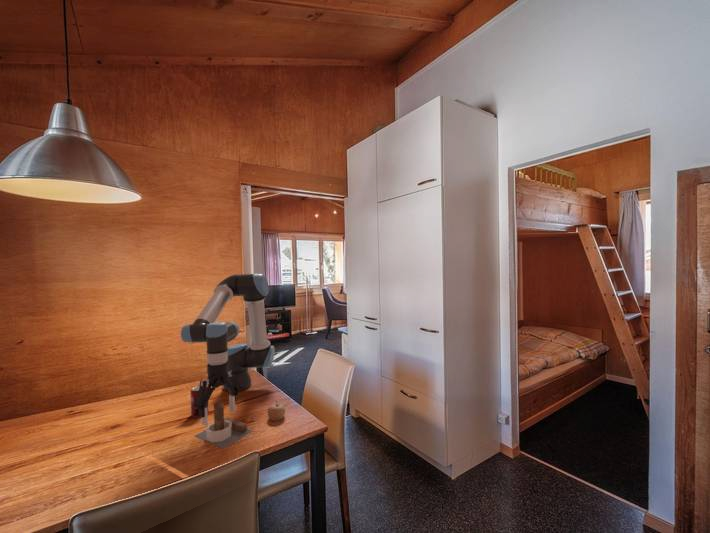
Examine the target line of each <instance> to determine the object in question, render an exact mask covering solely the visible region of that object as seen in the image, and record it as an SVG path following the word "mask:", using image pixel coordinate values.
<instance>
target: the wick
mask: <svg viewBox="0 0 710 533" xmlns="http://www.w3.org/2000/svg"><path fill="white" fill-rule="evenodd" d="M224 420H227V421H230V422H232V429H233V430H236V431H238V432H241V433H242V432H244V431H246V430H247V429H248V424H247V423H245V422H242V421H241V420H237V419H234V418H231V417H228V416H227V417H224Z"/></svg>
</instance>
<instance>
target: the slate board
mask: <svg viewBox="0 0 710 533" xmlns="http://www.w3.org/2000/svg"><path fill="white" fill-rule="evenodd" d="M252 432H254V430H252V429H249V428H247V430H246V431H244V432H242V433H241V432H238V431H236V430H233V429H232V434H231V437H229V438H227V439H225V440H223V441H219V442H210V441H208V440H206V429H204V430H203V431H201V432H199V433H197V434H195V435H194V437H195V438H197V439H200V440H201V441H204V442H207V443H209V444H211V445H213V446H216V447H219V448H220V449H225V448H226V447H228V446H230V445H232V444H234V443H235V442H237V441H239V440H240V439H242V438H244V437H246V436H247V435H249V434H251V433H252Z"/></svg>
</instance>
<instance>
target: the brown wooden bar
mask: <svg viewBox="0 0 710 533" xmlns="http://www.w3.org/2000/svg"><path fill="white" fill-rule="evenodd" d="M224 409H225V407H224V402H222V401H220V400H219V401H217V402H215V403H213V420H214V422H213V423H214V425H215V431H219V430H223V429H224V419H225V413H224V412H225V411H224Z"/></svg>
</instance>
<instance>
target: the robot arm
mask: <svg viewBox="0 0 710 533" xmlns="http://www.w3.org/2000/svg"><path fill="white" fill-rule="evenodd" d="M269 287H270V286H269V280H268V279H267V277H266V275H265V274H263V273H242V274H238V273H237V274H236V273H235V274H233V275H229V276H228V277H226V278H224V279H223V280H221V281H220V282H219V283H218V284H217V285H216V286H215V288H214V290H213V294H212V296H211V297H210V299H209V300H208V302H206V304H205V306H204V307H203V309H202V310H201V311H200V313H199V315H197V317H196V318H195V320H194V321H193V323H189V324H184V325H183V327H182V328H181V330H180V338H181V340H182V342H183V343H192V344H193V343H206V363H207V365H206V371H207V372H206V373H207V379H201V380H200V381H199V386H200V388H199V391H198V394H197V398H196V401H195V404H194V408H196V409H199V416H200V417H199V418H201V423H200V424H201V425H202V426H205V427H208V425H209V424H208V422H209V421H208V413H207V408H206V405H207V403H208V404H209V400H210V398H211V396H212V394H213V392H214V391H215V390H216V389H217V388H219V387H222V389H223V391H227V392H228V393H230V394H229V395H228V408H229V410H228V412H231V413H236V403H237V396H238V395H239V393H240V392H241V391H243V390H246V389H248V388H250V387H251V386H252V378H251V375H250V374H249V368H250V369H251V368H270V367H271V366H272V364H273V362H274V359H275V353H276V352H275V351H276V349H275V346H274V345H271V341H270V340H268V335H267V334H268V333H267V332H268V331H267V325H266V324H267V323H266V313H265V303H264V300H266V299H267V295H269V293H270V292H269V291H270V290H269ZM235 297H243V301H244V302H245V303H246V307H247V315H248V324H249V333H250V341H251V342H250V343H249V345H248V343H245V342H243V343H237V344H233V345H230V346H228V344H229V342H231V341H233V340H235V339H236V338H237V337H238V336H239V334H240V327H239V325H238V323H236V322H235V321H234V322H233V321H228V322H225V321H217V320H218V318H219V316H220V315H221V313H222V311H223V310H224V308H225V306H226V305H227V304H228V303H229V301H231V300H232V299H233V298H235ZM206 387H207V390H206ZM205 391H206V392H205Z"/></svg>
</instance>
